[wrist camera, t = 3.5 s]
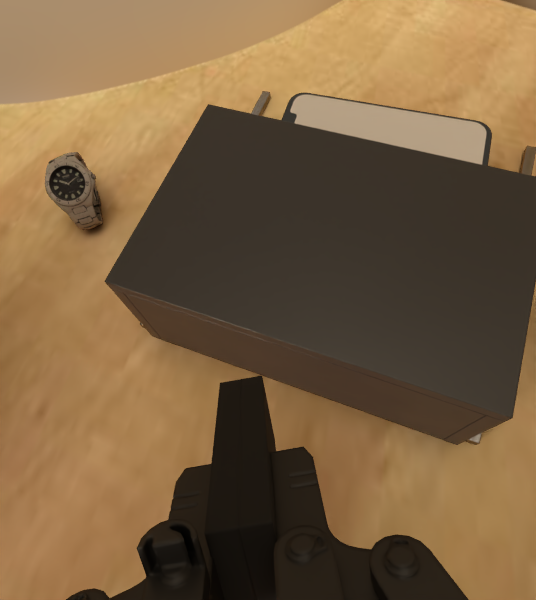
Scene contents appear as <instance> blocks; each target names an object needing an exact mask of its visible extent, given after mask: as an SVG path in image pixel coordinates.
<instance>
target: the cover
mask: <svg viewBox="0 0 536 600" xmlns="http://www.w3.org/2000/svg"><path fill="white" fill-rule="evenodd" d="M105 282H106V284H107V285H108V286H109V287H110V288H111V289H112V290H113V291H114V293H115V294H116V295H117V296H118V297H119V298H120V299H121V301H122V302H123V303H124V304H125V305H126V306H127V307H128V309H129V310H130V311H131V312H132V313H133V314H134V315H135V317H136V318H137V319H138V320H139V321H140V322H141V323H142V325H143V326H144V327H145V328H146V329H147V330H148V332H149V333H150V334H151V335H152V336H154V337H157V338H159V339H163V340H165V341H168V342H171V343H173V344H176V345H179V346H182V347H185V348H187V349H190V350H193V351H196V352H199V353H202V354H204V355H207V356H210V357H213V358H216V359H218V360H221V361H224V362H227V363H230V364H232V365H235V366H238V367H241V368H244V369H246V370H249V371H252V372H255V373H258V374H260V375H263V376H266V377H269V378H272V379H274V380H277V381H280V382H283V383H286V384H289V385H291V386H294V387H297V388H300V389H303V390H305V391H308V392H311V393H314V394H317V395H319V396H322V397H325V398H328V399H331V400H333V401H336V402H339V403H342V404H345V405H347V406H350V407H353V408H356V409H359V410H361V411H364V412H367V413H370V414H373V415H375V416H378V417H381V418H384V419H387V420H390V421H392V422H395V423H398V424H401V425H404V426H406V427H409V428H412V429H415V430H418V431H420V432H423V433H426V434H429V435H432V436H434V437H437V438H440V439H444V440H445V441H448V442H451V443H454V444H456V445H458V444H460V443H462V442H464V441H466V440H468V439H470V438H472V437H474V436H476V435H478V434H480V433H482V432H484V431H487V430H489V429H491V428H493V427H495V426H497V425H499V424H501V423H503V422H505V421H507V420H509V419H511V418H512V417H513V412H514V406H515V400H516V394H517V388H518V382H519V376H520V370H521V365H522V359H523V353H524V347H525V341H526V335H527V329H528V323H529V317H530V311H531V305H532V300H533V294H534V288H535V282H536V176H531V175H526V174H522V173H517V172H513V171H508V170H504V169H499V168H495V167H490V166H486V165H481V164H477V163H472V162H467V161H463V160H458V159H454V158H449V157H445V156H440V155H436V154H431V153H427V152H422V151H418V150H413V149H408V148H404V147H399V146H395V145H390V144H386V143H381V142H377V141H372V140H368V139H363V138H359V137H354V136H349V135H345V134H340V133H336V132H331V131H327V130H322V129H318V128H313V127H309V126H304V125H300V124H295V123H290V122H286V121H281V120H277V119H272V118H268V117H263V116H259V115H254V114H250V113H245V112H241V111H236V110H231V109H227V108H222V107H218V106H213V105H208V106H207V107H206V109H205V111H204V112H203V114H202V116H201V117H200V119H199V121H198V123H197V124H196V126H195V128H194V129H193V131H192V133H191V135H190V136H189V138H188V140H187V141H186V143H185V145H184V147H183V148H182V150H181V152H180V153H179V155H178V157H177V158H176V160H175V162H174V164H173V165H172V167H171V169H170V170H169V172H168V174H167V176H166V177H165V179H164V181H163V182H162V184H161V186H160V188H159V189H158V191H157V193H156V194H155V196H154V198H153V199H152V201H151V203H150V205H149V206H148V208H147V210H146V211H145V213H144V215H143V217H142V218H141V220H140V222H139V223H138V225H137V227H136V229H135V230H134V232H133V234H132V235H131V237H130V239H129V240H128V242H127V244H126V246H125V247H124V249H123V251H122V252H121V254H120V256H119V258H118V259H117V261H116V263H115V264H114V266H113V268H112V270H111V271H110V273H109V275H108V276H107V278H106V280H105Z"/></svg>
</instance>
